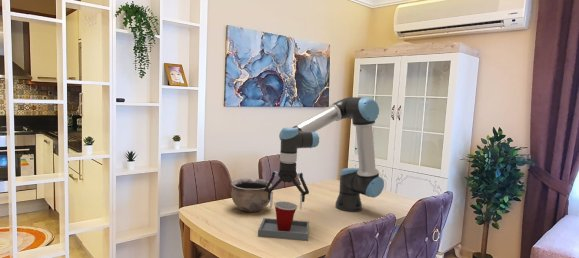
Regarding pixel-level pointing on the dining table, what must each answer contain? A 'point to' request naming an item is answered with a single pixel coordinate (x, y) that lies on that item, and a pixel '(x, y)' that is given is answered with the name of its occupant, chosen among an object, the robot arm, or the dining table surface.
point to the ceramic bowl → (250, 194)
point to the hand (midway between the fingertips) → (285, 207)
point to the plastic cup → (284, 214)
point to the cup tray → (296, 232)
